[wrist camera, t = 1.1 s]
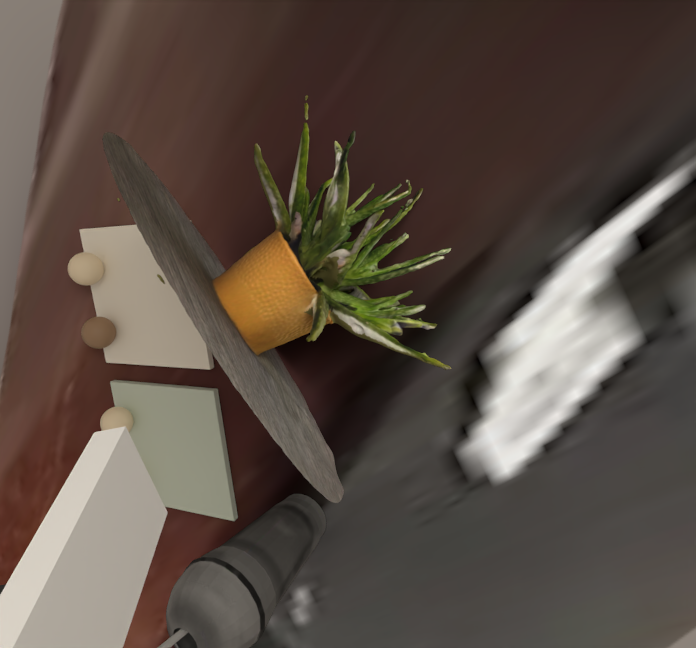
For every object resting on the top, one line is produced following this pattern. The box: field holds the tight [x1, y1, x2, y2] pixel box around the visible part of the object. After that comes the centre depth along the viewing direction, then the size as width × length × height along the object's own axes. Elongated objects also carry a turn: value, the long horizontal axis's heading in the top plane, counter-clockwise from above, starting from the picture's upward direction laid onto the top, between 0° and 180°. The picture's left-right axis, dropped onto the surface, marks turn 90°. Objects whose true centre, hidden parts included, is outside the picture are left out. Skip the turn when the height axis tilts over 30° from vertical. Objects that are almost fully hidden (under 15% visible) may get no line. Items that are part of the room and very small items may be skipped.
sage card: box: [100, 380, 238, 521], centre depth 55 cm, size 13×13×4 cm
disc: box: [103, 95, 451, 503], centre depth 37 cm, size 25×18×25 cm
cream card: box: [68, 220, 214, 370], centre depth 52 cm, size 13×13×4 cm
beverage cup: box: [158, 494, 326, 648], centre depth 43 cm, size 7×7×20 cm
